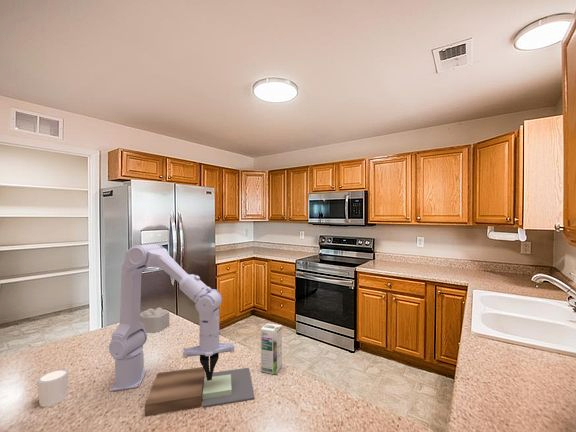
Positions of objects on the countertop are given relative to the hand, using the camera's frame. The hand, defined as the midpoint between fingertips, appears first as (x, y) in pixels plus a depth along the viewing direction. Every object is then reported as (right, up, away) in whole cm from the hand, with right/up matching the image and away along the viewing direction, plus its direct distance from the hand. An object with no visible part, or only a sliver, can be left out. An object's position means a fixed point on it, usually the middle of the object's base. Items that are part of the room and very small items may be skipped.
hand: (209, 378), depth 80 cm
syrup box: (+18, -4, +12) cm, 22 cm away
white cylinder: (-43, -4, -4) cm, 44 cm away
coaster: (+2, -3, 0) cm, 4 cm away
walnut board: (-9, -4, -1) cm, 10 cm away
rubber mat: (+5, -4, +2) cm, 7 cm away
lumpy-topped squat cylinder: (-41, -5, +47) cm, 63 cm away
